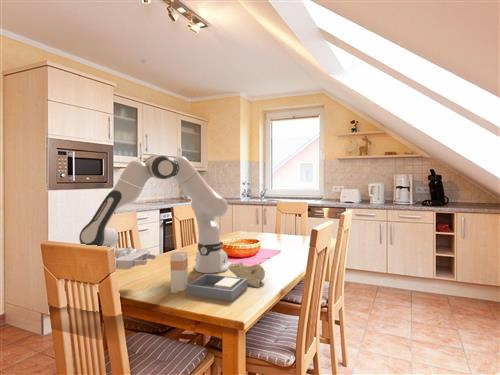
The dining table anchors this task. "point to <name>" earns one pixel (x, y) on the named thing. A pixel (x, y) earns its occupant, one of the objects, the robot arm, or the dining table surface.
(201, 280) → the tote
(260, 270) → the beige rock
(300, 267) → the dining table surface
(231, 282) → the white rectangular block
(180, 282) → the juice carton
